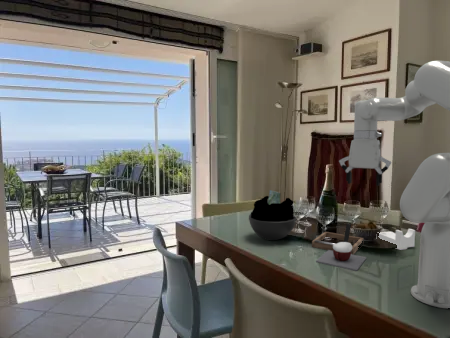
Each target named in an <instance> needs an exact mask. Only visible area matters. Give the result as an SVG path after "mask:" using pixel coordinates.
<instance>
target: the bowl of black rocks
mask: <svg viewBox="0 0 450 338" xmlns="http://www.w3.org/2000/svg"><path fill="white" fill-rule="evenodd" d="M269 197H270V196H269V195H266V196H263V197H262V198H260V199H257V200H255V202H253V208H252V211H251V212H250V214H249V215H248V221H249V224H250V227H251V228H252V230H253V231H254V233H255V234H256V235H257V236H259V237H260V238H262V239H264V240H266V241H267V240H268V241H277V240H278V241H279V240H281V239H283V238H285V237H287V236H288V235H289V234H290V233H291V232H292V231H293V229H294V227H295V225H296V220H297V218H296V216H295V215H294V212H295V211H294V200H292V199H291V197H285V200H283V201H282V202H280V204H279V203H272V204H270V205H269V204H268V202H267V201H268V198H269Z"/></svg>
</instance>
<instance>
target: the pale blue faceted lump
mask: <svg viewBox="0 0 450 338" xmlns="http://www.w3.org/2000/svg"><path fill="white" fill-rule="evenodd" d="M268 196H270V197H269V198H268V199H267V200H268V201H267V202H268V204H269V205H270V204H272V203H279V204H280V203H281V193H280V192H278V191H275V190H271V189H269V193H268Z"/></svg>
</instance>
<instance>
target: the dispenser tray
mask: <svg viewBox="0 0 450 338" xmlns="http://www.w3.org/2000/svg"><path fill="white" fill-rule="evenodd" d="M344 235H345V234H342V233H341V234H340V233H335V232H329V231H324V232H323V233H322V234H320V235H318V236H317V237H316V238H314V239H313V240H312V241H311V247H312V248H314V249H315V248H316V249H319V250H326V251H328V250H332V251H333V245H334V244H335V243H333V242H328V241H321V240H323V239H324V238H325V237H331V238H337V239H344ZM349 240H358V241H357V242H356V243H353V245H352V250H351V254H352V255H355V254H356V252H357V251H358V250H359V249H360V248H359V247H358V246H359V245H360V244H361V243H362V241H363V242H364V237H359V236H352V235H349ZM358 248H359V249H358Z"/></svg>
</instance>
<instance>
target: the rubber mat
mask: <svg viewBox="0 0 450 338" xmlns="http://www.w3.org/2000/svg"><path fill="white" fill-rule="evenodd" d="M366 260H367V256H362V255H356V254H354V255H352V254H351V256H350V258H349V259H348V260H347V261H339V260H337V259H336V258H335V257H334V254H333V251H332V250H326V251H325V252H324V253H323V254H321V256H319V257H318V258H317V259H316V260H315V262H316V263H317V264H318V263H319V264H324V265H328V266H332V267H338V268H341V269H346V270H351V271H355V272H357V271H359V269H360V268H361V266H362V265H363V264H364V262H366Z"/></svg>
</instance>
